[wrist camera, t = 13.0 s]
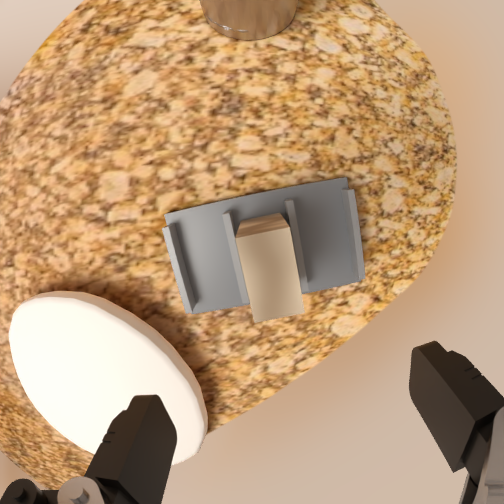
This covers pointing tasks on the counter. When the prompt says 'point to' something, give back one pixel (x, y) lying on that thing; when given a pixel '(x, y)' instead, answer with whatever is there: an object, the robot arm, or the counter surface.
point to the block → (269, 267)
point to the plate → (100, 368)
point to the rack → (256, 205)
